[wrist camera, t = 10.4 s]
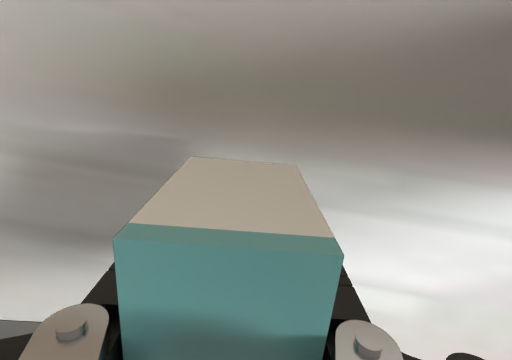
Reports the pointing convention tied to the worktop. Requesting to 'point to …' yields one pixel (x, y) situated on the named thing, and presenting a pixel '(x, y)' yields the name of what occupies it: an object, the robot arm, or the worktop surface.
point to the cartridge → (227, 267)
